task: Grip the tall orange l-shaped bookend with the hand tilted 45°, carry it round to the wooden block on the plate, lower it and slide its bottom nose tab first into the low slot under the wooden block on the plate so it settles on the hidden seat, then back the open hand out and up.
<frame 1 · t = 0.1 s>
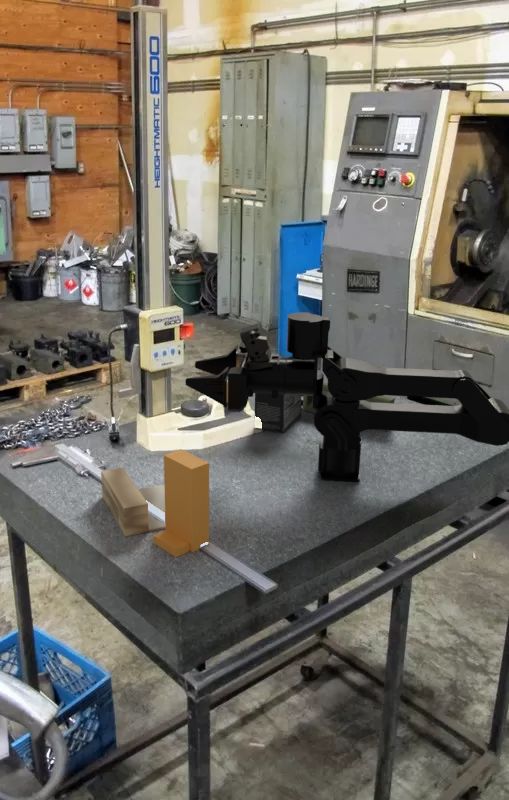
hand: (190, 372, 125), 17 cm above the workbench, tool horizontal, fingers open, 9 cm apart
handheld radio: (333, 417, 154), on the workbench
wooden block on plate: (152, 508, 116), on the workbench
small box: (277, 422, 150), on the workbench
orange l-shaped bookend: (187, 540, 107), on the workbench
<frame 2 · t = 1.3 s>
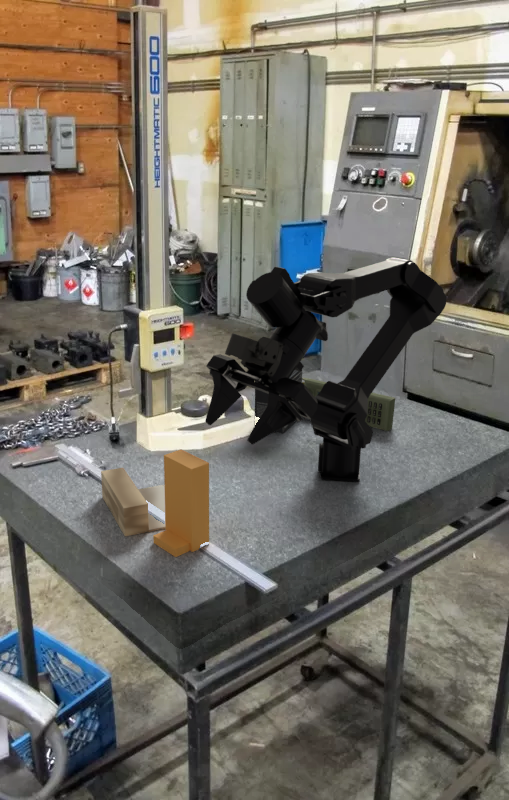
hand: (227, 432, 108), 14 cm above the workbench, tool tilted 45°, fingers open, 9 cm apart
nothing on the workbench moved.
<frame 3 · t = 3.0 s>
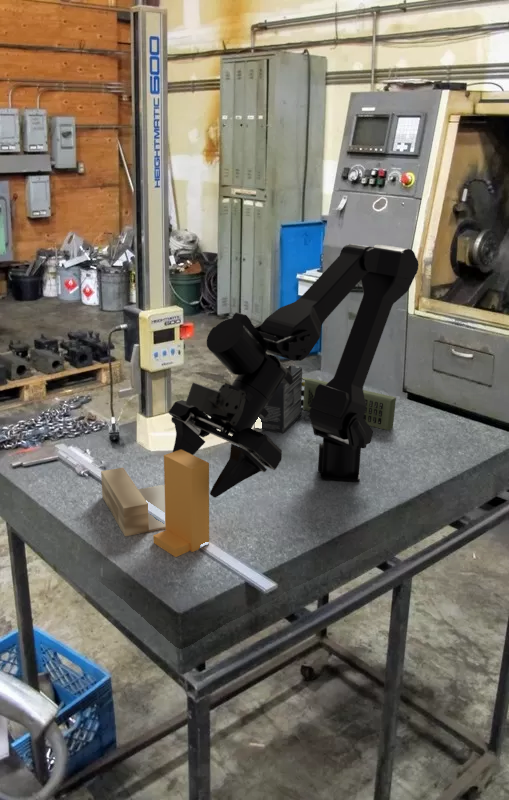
hand: (190, 484, 105), 8 cm above the workbench, tool tilted 45°, fingers open, 9 cm apart
nothing on the workbench moved.
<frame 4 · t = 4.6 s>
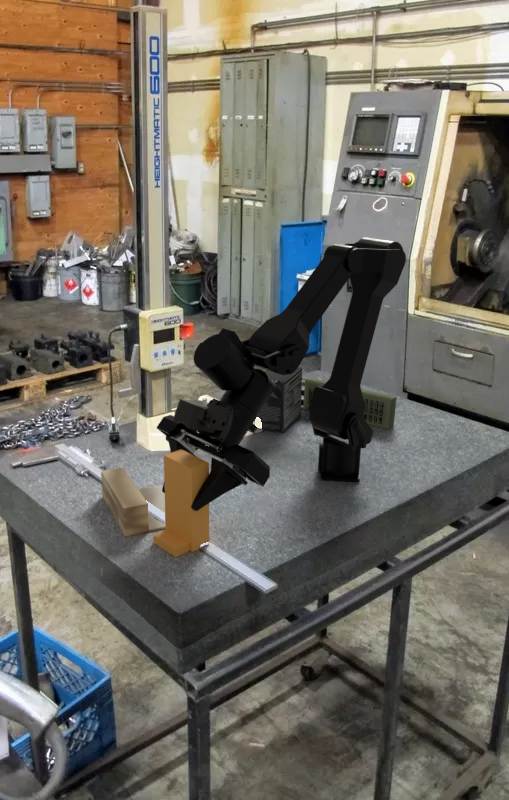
hand: (178, 501, 104), 7 cm above the workbench, tool tilted 45°, fingers closed on orange l-shaped bookend, 6 cm apart
orange l-shaped bookend: (187, 539, 107), on the workbench, touching gripper
everything else where it was.
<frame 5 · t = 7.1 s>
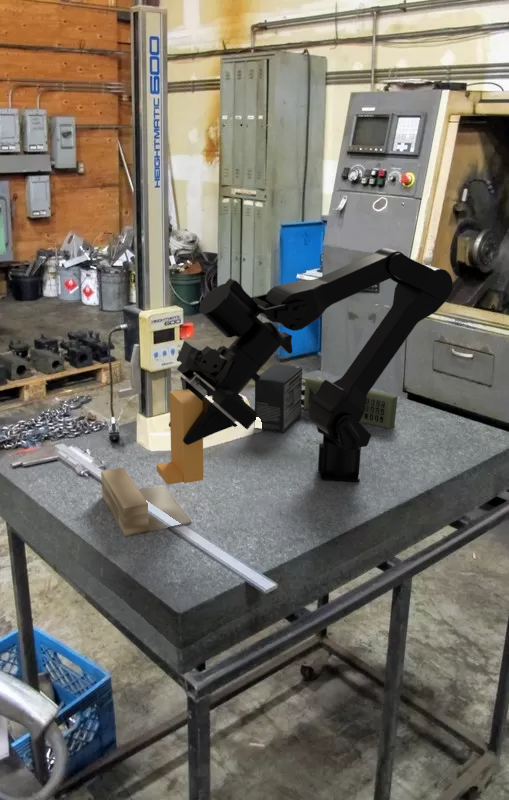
hand: (177, 435, 113), 11 cm above the workbench, tool tilted 45°, fingers closed on orange l-shaped bookend, 6 cm apart
orange l-shaped bookend: (187, 473, 116), point 5 cm above the workbench, touching gripper
when the fingers open (7 cm above the workbench, at t = 9.8 s): orange l-shaped bookend stays where it is, resting on wooden block on plate.
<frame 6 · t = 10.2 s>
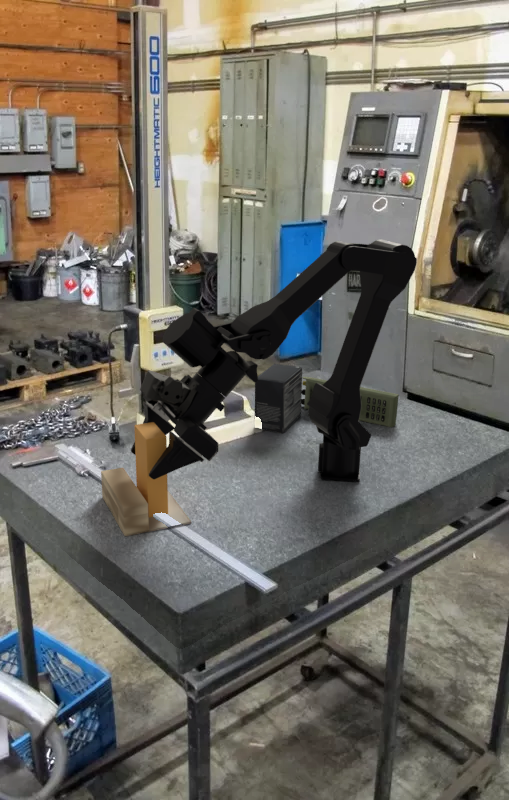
hand: (141, 464, 113), 8 cm above the workbench, tool tilted 45°, fingers open, 9 cm apart
orange l-shaped bookend: (152, 506, 116), resting on wooden block on plate
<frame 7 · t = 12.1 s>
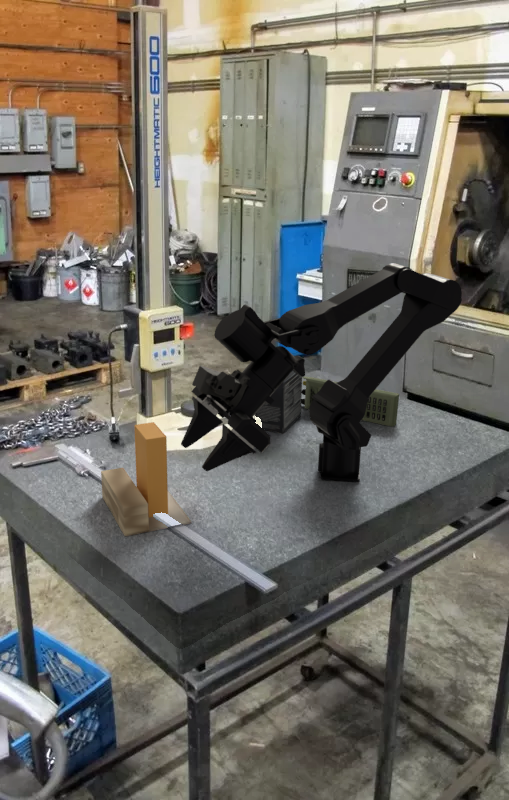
hand: (193, 457, 116), 7 cm above the workbench, tool tilted 45°, fingers open, 9 cm apart
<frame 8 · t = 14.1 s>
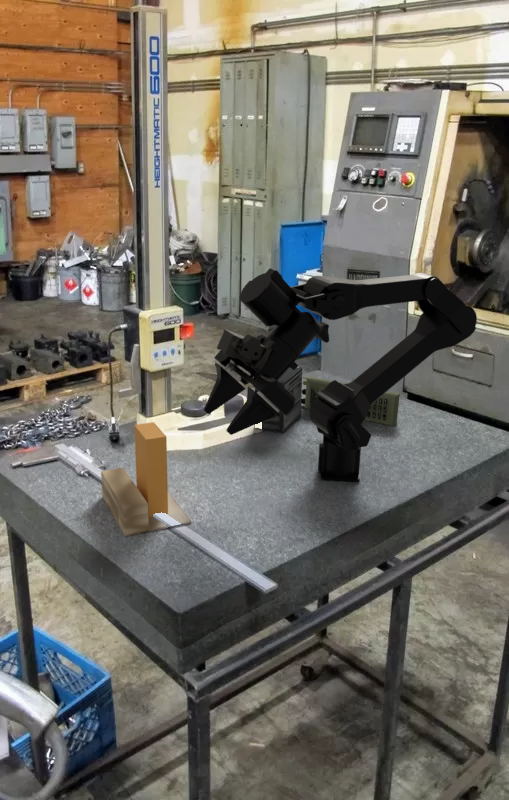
hand: (216, 422, 116), 13 cm above the workbench, tool tilted 45°, fingers open, 9 cm apart
at the end: orange l-shaped bookend 0.1 cm off-centre on the wooden block on plate, point 0.3 cm above the wooden block on plate's base; orange l-shaped bookend tilted 0°; the gripper is holding nothing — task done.
